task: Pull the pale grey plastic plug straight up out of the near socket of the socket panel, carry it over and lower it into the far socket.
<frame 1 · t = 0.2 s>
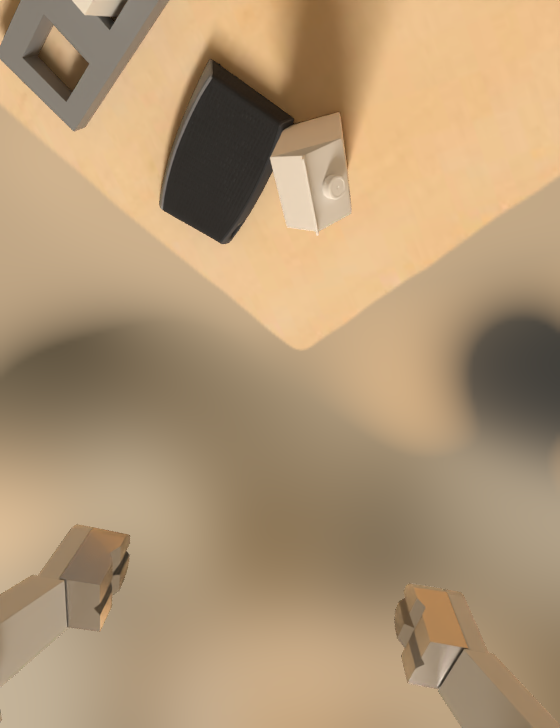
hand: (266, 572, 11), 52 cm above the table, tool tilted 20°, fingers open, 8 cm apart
socket panel: (89, 22, 43), on the table
external hard drive: (222, 162, 52), on the table
milk carton: (316, 149, 50), on the table
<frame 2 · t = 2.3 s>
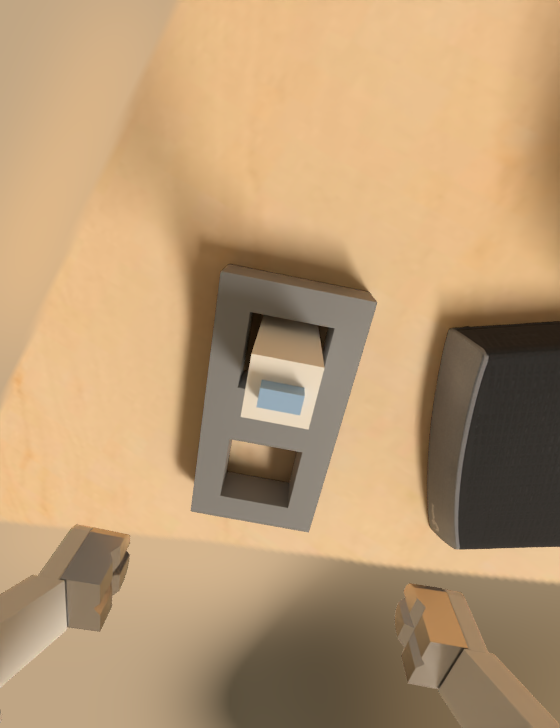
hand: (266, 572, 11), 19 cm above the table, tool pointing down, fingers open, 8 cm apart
plug: (285, 343, 28), resting in socket panel
socket panel: (273, 401, 30), on the table
external hard drive: (506, 432, 31), on the table
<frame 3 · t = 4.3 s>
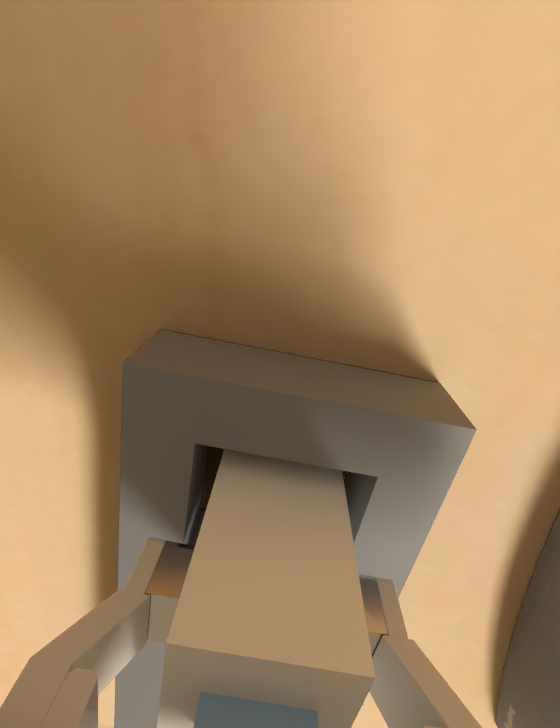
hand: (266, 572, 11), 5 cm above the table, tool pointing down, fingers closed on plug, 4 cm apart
plug: (275, 469, 15), resting in socket panel, touching gripper
socket panel: (256, 556, 17), on the table
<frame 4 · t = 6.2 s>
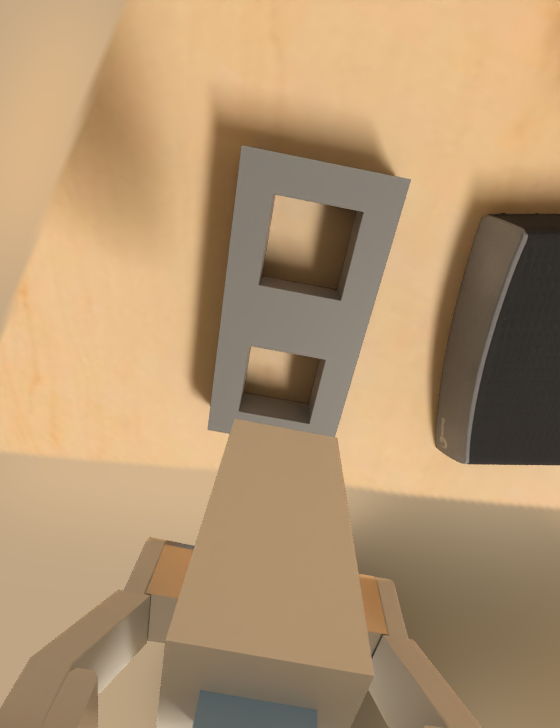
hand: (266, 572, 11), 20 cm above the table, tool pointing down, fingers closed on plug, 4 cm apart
plug: (276, 469, 15), point 16 cm above the table, touching gripper
socket panel: (293, 311, 29), on the table
external hard drive: (527, 344, 30), on the table
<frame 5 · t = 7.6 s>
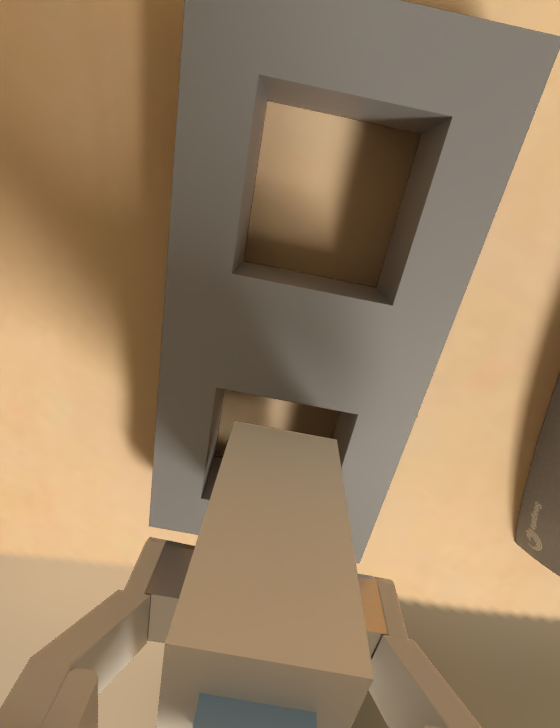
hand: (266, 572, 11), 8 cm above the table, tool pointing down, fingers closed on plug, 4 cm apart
plug: (276, 471, 15), point 4 cm above the table, touching gripper
socket panel: (299, 324, 17), on the table
when the fingers open (5 cm above the table, at t = 8.5 s): plug stays where it is, resting in socket panel.
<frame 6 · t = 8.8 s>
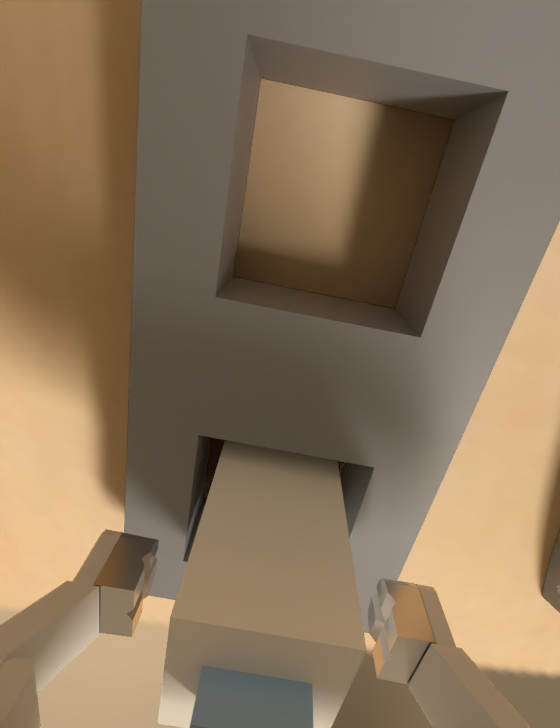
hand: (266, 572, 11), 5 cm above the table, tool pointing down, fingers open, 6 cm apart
plug: (274, 462, 16), resting in socket panel
socket panel: (301, 352, 14), on the table
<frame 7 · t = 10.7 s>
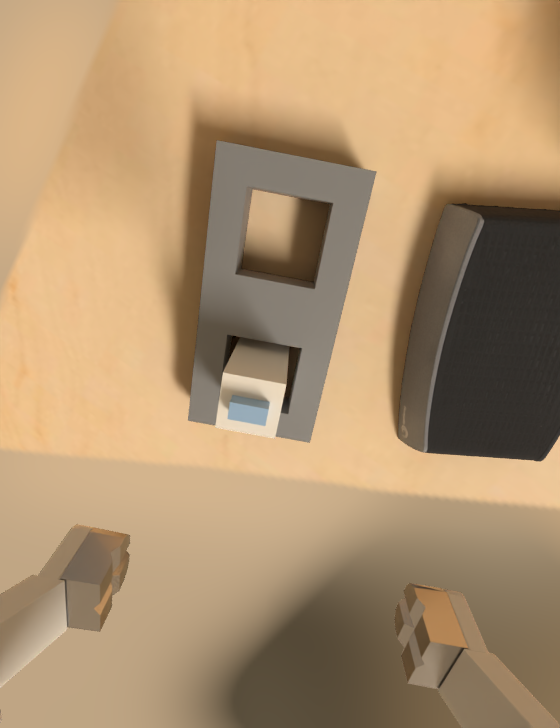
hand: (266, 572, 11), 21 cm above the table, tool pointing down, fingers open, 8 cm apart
plug: (261, 361, 32), resting in socket panel
socket panel: (272, 303, 30), on the table
external hard drive: (488, 337, 31), on the table
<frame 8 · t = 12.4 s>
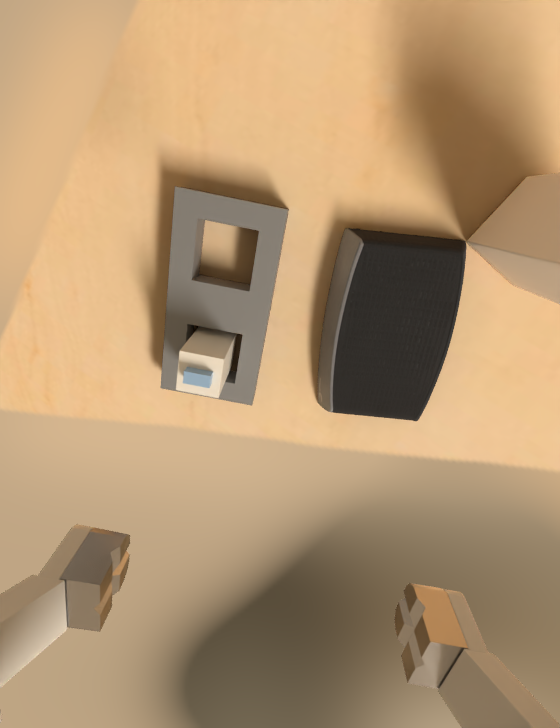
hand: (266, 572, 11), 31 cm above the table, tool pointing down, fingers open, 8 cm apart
plug: (217, 344, 42), resting in socket panel
socket panel: (223, 300, 40), on the table
external hard drive: (383, 327, 41), on the table
milk carton: (518, 234, 36), on the table
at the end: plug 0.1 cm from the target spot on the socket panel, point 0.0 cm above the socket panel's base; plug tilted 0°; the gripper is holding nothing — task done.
